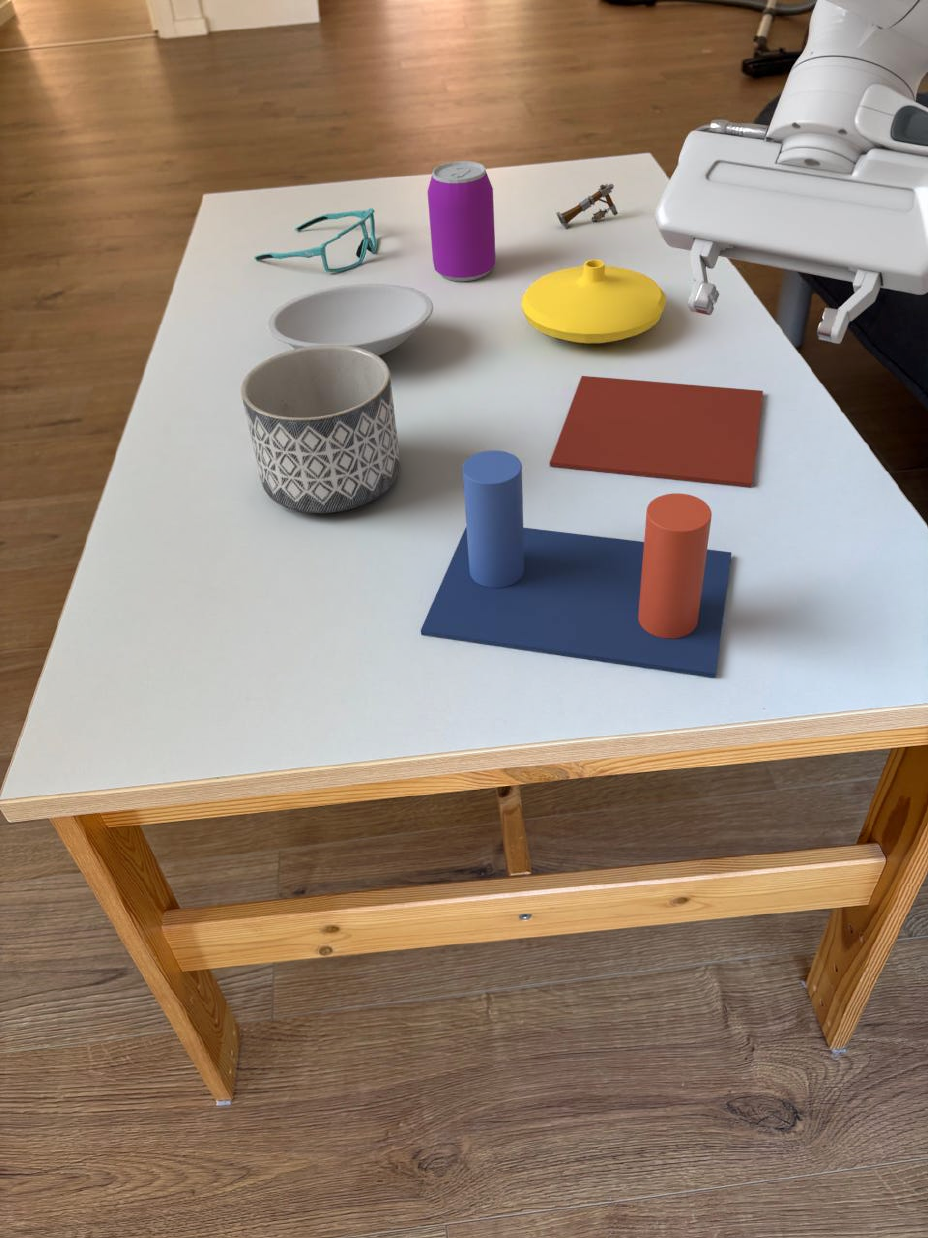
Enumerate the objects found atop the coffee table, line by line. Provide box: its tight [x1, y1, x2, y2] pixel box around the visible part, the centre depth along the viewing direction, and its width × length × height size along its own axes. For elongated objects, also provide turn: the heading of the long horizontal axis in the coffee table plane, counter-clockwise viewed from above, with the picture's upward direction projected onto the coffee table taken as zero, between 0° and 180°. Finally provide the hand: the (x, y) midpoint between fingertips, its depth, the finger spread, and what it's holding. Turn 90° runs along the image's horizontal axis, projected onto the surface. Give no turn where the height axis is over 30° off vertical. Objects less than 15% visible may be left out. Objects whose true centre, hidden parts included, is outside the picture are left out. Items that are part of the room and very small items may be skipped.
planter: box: [240, 345, 401, 514], centre depth 90 cm, size 13×13×10 cm
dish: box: [266, 283, 434, 357], centre depth 110 cm, size 18×14×5 cm
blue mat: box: [420, 526, 732, 679], centre depth 80 cm, size 22×14×1 cm, turn 75°
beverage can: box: [427, 160, 496, 282], centre depth 122 cm, size 8×8×12 cm
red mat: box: [549, 375, 764, 488], centre depth 97 cm, size 18×16×1 cm
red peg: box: [638, 492, 713, 639], centre depth 73 cm, size 4×4×10 cm
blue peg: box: [462, 449, 524, 588], centre depth 79 cm, size 4×4×10 cm
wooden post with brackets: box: [555, 183, 619, 230], centre depth 134 cm, size 2×8×4 cm, turn 106°
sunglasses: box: [253, 207, 378, 273], centre depth 132 cm, size 14×15×5 cm
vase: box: [520, 259, 667, 345], centre depth 111 cm, size 16×16×7 cm
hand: (761, 324), depth 72 cm, fingers open, 8 cm apart
